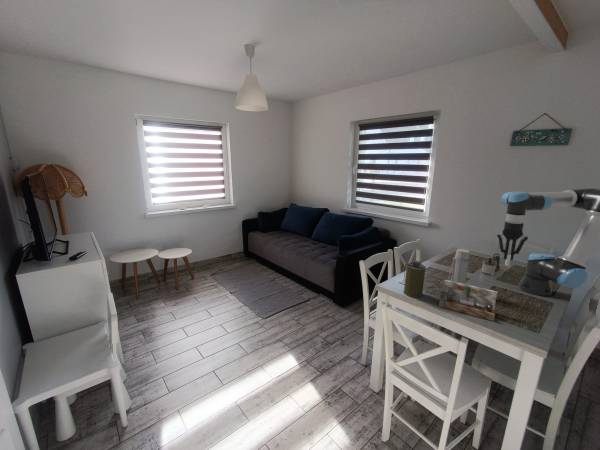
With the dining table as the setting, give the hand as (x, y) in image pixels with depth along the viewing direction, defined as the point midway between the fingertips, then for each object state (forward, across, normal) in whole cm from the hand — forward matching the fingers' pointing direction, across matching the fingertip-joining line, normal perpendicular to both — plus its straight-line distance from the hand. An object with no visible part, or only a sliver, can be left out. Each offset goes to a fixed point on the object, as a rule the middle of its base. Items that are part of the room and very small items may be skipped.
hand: (507, 265), depth 141 cm
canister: (+21, +43, +16) cm, 50 cm away
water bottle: (+22, +22, -5) cm, 31 cm away
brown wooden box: (+21, +16, +18) cm, 33 cm away
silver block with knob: (+20, +12, +18) cm, 30 cm away
